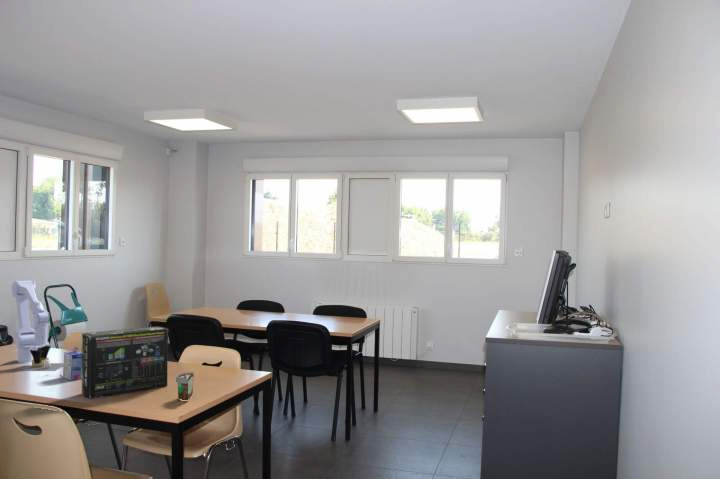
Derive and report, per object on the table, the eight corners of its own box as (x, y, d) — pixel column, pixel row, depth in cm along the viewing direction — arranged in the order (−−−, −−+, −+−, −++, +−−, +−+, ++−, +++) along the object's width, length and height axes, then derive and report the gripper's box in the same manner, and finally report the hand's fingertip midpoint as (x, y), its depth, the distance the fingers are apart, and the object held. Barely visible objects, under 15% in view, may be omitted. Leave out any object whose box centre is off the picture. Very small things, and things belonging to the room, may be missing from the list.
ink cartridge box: (82, 379, 275) (83, 348, 275) (70, 380, 271) (71, 350, 271) (74, 375, 282) (75, 345, 282) (62, 377, 278) (63, 347, 278)
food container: (179, 394, 251) (179, 372, 251) (193, 394, 251) (193, 372, 252) (172, 402, 239) (172, 378, 239) (187, 402, 239) (187, 378, 239)
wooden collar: (36, 364, 298) (36, 357, 298) (48, 364, 299) (48, 357, 299) (31, 366, 292) (31, 360, 292) (43, 366, 293) (43, 360, 293)
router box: (158, 381, 273) (159, 325, 273) (168, 386, 265) (170, 328, 265) (78, 394, 249) (80, 332, 249) (87, 399, 241) (88, 335, 241)
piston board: (37, 365, 301) (37, 355, 301) (69, 365, 303) (69, 355, 303) (20, 373, 283) (21, 362, 283) (54, 373, 285) (55, 362, 285)
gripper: (43, 337, 289) (42, 364, 289) (55, 333, 303) (54, 359, 303) (28, 337, 288) (27, 365, 288) (40, 333, 302) (40, 359, 302)
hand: (40, 362), depth 296 cm, fingers open, 7 cm apart
